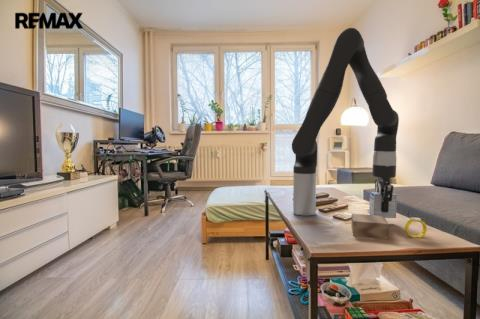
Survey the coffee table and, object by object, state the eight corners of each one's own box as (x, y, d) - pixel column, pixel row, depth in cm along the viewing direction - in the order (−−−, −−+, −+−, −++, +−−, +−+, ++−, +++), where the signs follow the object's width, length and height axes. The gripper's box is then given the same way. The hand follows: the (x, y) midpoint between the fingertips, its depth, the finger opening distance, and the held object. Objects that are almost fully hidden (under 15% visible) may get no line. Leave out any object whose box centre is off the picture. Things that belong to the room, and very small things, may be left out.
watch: (408, 239, 84) (407, 220, 83) (403, 236, 86) (402, 217, 86) (428, 237, 83) (427, 218, 83) (422, 234, 86) (421, 216, 86)
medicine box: (390, 215, 101) (391, 192, 101) (396, 218, 97) (397, 194, 96) (368, 214, 102) (369, 191, 102) (373, 217, 98) (374, 193, 97)
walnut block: (353, 236, 86) (353, 221, 86) (351, 227, 96) (351, 213, 96) (388, 240, 83) (388, 223, 83) (383, 230, 93) (383, 215, 92)
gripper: (368, 162, 106) (366, 205, 107) (378, 165, 92) (376, 214, 93) (389, 162, 104) (387, 206, 106) (403, 165, 90) (400, 216, 92)
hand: (382, 210), depth 99 cm, fingers closed on medicine box, 4 cm apart
